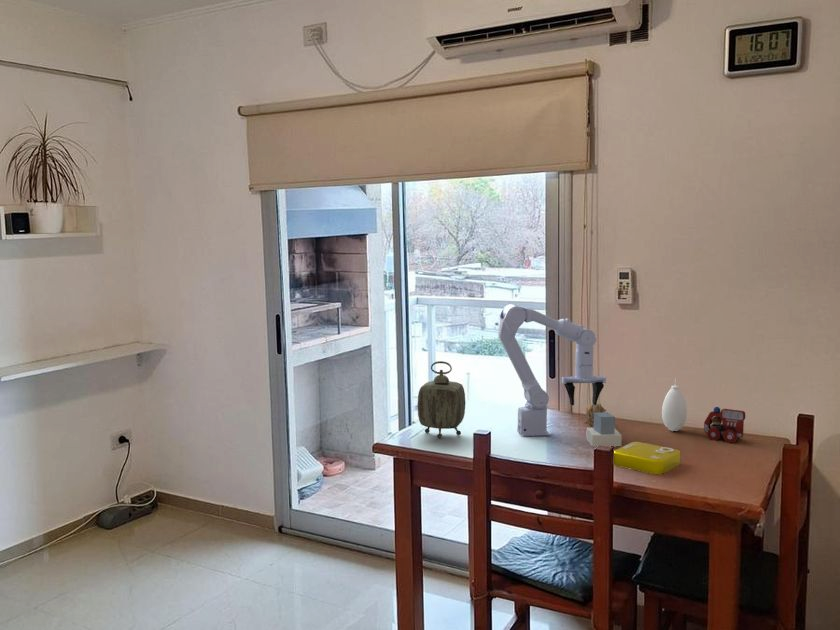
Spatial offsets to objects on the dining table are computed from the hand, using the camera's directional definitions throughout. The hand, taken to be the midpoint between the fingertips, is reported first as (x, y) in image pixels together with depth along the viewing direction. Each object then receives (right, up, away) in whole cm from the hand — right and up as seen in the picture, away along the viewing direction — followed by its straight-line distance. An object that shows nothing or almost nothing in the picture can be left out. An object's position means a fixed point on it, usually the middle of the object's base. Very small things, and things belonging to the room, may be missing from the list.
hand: (583, 404), depth 243 cm
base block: (+4, -11, -11) cm, 16 cm away
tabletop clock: (-48, -10, -4) cm, 49 cm away
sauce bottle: (+31, -9, +2) cm, 32 cm away
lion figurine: (+6, -9, +10) cm, 15 cm away
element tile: (+11, -14, -33) cm, 37 cm away
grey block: (+4, -7, -12) cm, 15 cm away
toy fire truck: (+44, -11, -8) cm, 46 cm away
